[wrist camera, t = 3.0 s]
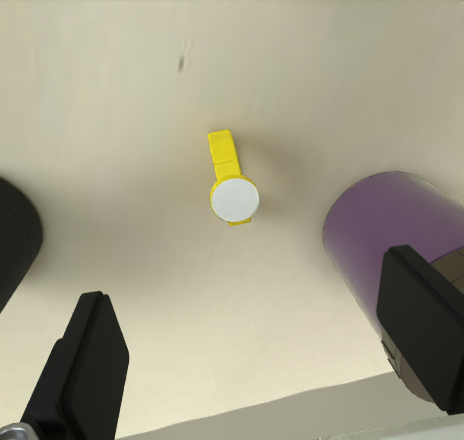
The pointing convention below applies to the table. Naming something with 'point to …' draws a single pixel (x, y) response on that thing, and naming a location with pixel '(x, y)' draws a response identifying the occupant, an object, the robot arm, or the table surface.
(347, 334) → the table surface
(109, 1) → the table surface
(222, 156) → the watch
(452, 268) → the jar lid
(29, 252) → the pen holder
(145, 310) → the table surface
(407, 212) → the jar
